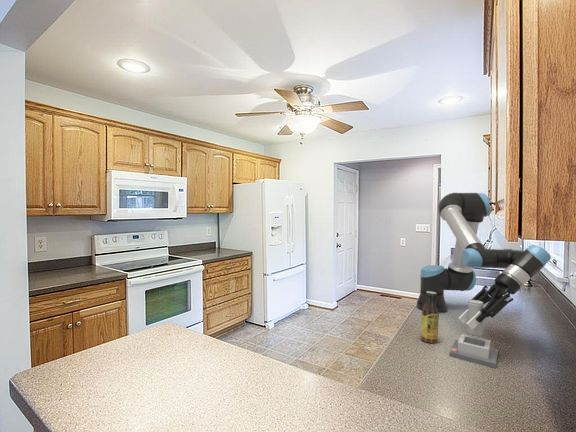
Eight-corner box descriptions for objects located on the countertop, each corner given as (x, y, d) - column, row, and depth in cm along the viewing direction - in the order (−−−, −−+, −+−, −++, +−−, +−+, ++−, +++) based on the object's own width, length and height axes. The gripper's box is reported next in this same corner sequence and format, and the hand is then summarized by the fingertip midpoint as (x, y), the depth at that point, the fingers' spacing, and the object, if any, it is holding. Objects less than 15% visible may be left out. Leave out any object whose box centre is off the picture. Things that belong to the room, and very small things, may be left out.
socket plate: (455, 343, 123) (456, 331, 123) (497, 353, 115) (498, 340, 115) (449, 356, 112) (449, 342, 112) (495, 368, 104) (496, 353, 104)
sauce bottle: (428, 344, 122) (429, 294, 122) (417, 338, 128) (418, 290, 128) (441, 343, 124) (442, 293, 123) (430, 337, 130) (431, 290, 129)
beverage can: (468, 330, 117) (469, 299, 117) (483, 333, 114) (484, 301, 113) (466, 334, 113) (467, 301, 113) (482, 337, 110) (482, 304, 110)
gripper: (537, 293, 104) (487, 341, 104) (501, 281, 122) (459, 322, 122) (522, 277, 104) (472, 325, 104) (488, 268, 122) (445, 308, 122)
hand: (465, 323), depth 113 cm, fingers closed on beverage can, 5 cm apart
